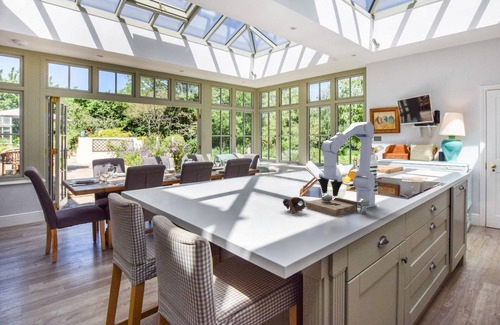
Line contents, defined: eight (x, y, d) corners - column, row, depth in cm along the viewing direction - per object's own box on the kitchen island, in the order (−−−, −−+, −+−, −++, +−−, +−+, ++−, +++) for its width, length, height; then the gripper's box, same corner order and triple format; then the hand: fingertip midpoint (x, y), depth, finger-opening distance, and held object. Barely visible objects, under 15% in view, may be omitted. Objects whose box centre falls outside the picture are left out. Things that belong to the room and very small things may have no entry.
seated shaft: (326, 206, 156) (326, 193, 155) (333, 208, 152) (333, 194, 151) (319, 207, 153) (319, 194, 153) (326, 209, 149) (326, 196, 148)
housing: (327, 202, 163) (327, 195, 162) (357, 210, 146) (357, 201, 145) (305, 207, 154) (305, 199, 154) (335, 215, 137) (335, 206, 137)
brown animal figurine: (306, 210, 151) (308, 198, 146) (300, 222, 144) (302, 210, 139) (284, 202, 155) (286, 191, 150) (278, 214, 148) (279, 202, 143)
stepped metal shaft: (362, 211, 144) (362, 197, 143) (371, 213, 140) (371, 199, 139) (355, 213, 141) (355, 199, 141) (364, 215, 137) (364, 201, 136)
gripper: (313, 165, 142) (313, 192, 144) (333, 168, 129) (333, 198, 131) (325, 164, 145) (325, 191, 147) (345, 167, 132) (345, 196, 134)
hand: (329, 194), depth 139 cm, fingers open, 7 cm apart
